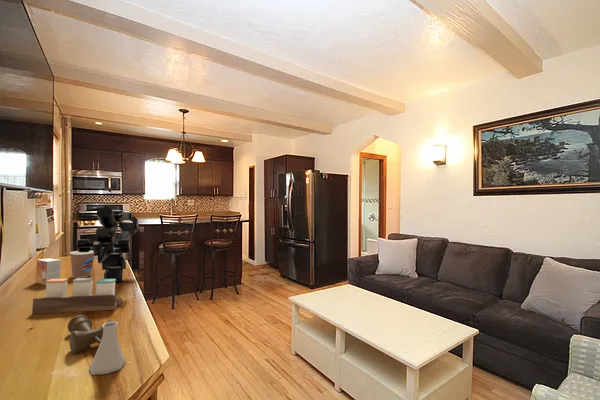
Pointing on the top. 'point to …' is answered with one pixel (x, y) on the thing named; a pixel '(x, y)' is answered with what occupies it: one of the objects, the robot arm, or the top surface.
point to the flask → (108, 352)
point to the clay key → (56, 288)
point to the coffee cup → (81, 263)
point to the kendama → (83, 333)
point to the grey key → (83, 286)
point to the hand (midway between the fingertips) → (99, 262)
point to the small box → (47, 270)
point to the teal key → (105, 287)
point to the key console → (75, 304)
